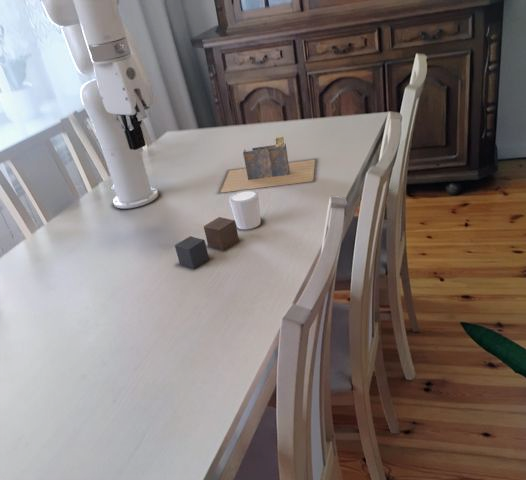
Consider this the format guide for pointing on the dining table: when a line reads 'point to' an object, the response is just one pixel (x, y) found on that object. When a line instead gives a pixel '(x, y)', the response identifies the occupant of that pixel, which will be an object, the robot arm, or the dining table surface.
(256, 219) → the white cylinder
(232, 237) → the walnut block
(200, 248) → the charcoal block
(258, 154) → the ruin model on sheet
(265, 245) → the dining table surface
